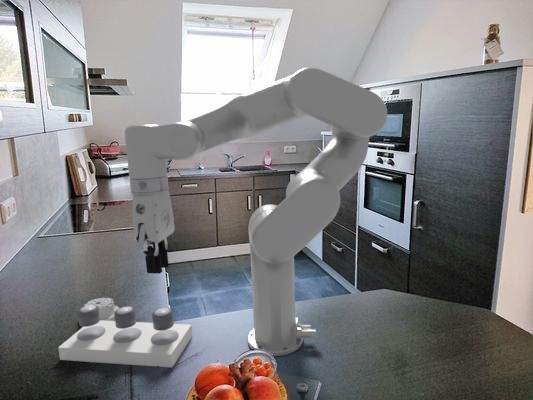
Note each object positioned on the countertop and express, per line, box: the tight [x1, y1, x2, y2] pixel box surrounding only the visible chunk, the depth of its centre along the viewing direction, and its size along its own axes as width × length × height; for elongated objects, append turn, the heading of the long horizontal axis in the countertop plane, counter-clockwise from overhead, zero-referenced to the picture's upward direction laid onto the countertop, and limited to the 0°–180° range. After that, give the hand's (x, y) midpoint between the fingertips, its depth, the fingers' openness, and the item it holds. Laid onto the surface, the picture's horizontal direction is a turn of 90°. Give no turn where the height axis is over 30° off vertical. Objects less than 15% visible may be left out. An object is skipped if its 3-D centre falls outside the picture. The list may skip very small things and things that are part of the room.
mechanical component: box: [82, 297, 120, 321], centre depth 102 cm, size 10×4×10 cm
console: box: [58, 320, 193, 368], centre depth 87 cm, size 26×12×3 cm, turn 81°
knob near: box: [151, 307, 175, 331], centre depth 85 cm, size 4×4×3 cm
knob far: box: [77, 305, 100, 327], centre depth 88 cm, size 4×4×3 cm
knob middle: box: [114, 306, 137, 329], centre depth 86 cm, size 4×4×3 cm
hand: (158, 269), depth 82 cm, fingers open, 2 cm apart
